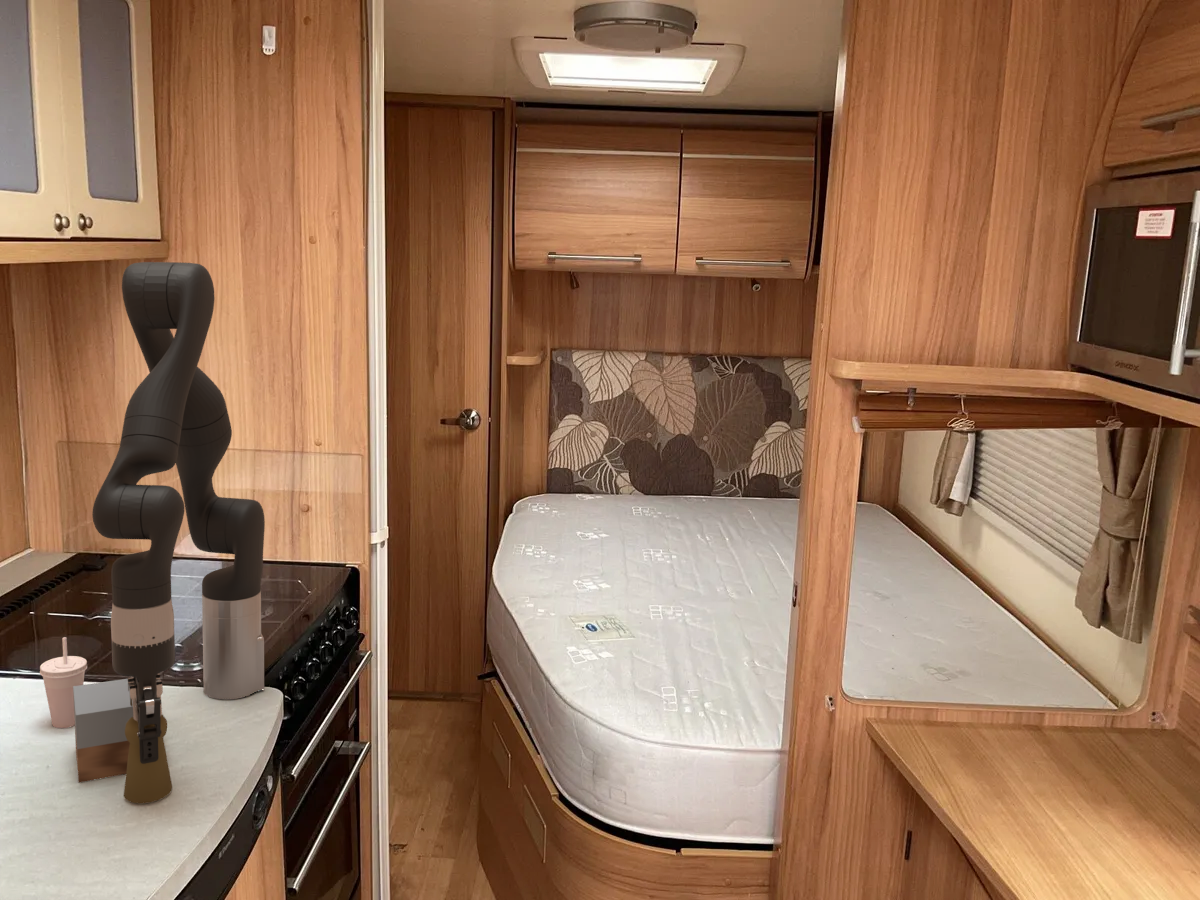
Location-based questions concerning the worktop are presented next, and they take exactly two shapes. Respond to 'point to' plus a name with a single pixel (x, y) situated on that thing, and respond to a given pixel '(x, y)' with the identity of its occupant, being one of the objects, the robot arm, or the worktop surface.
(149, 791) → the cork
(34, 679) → the worktop surface
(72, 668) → the smoothie
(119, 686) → the slate top block
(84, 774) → the walnut base block
